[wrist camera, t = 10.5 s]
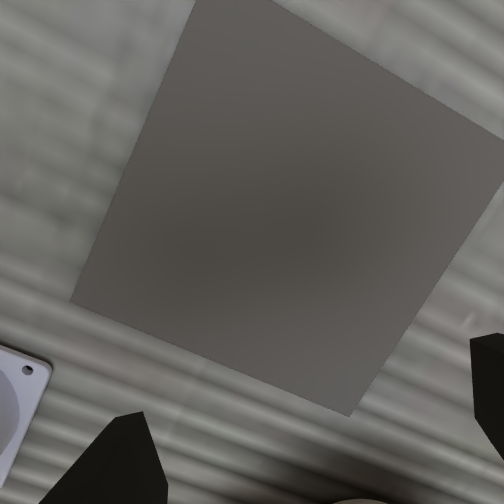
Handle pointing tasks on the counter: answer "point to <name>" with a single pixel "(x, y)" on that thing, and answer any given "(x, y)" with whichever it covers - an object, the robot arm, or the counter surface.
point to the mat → (287, 204)
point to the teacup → (359, 501)
